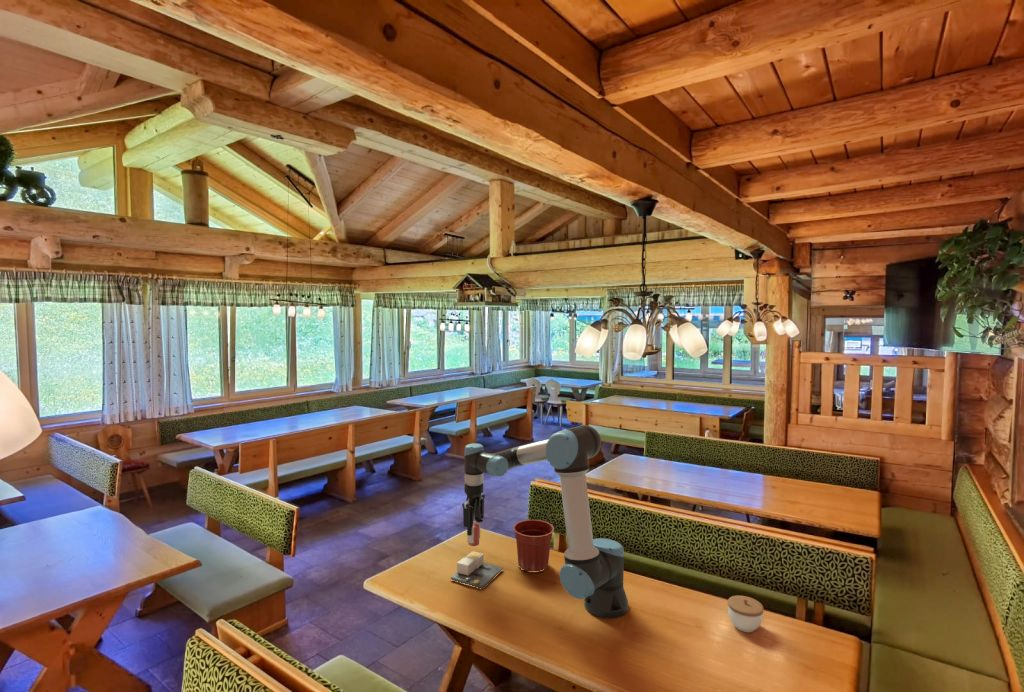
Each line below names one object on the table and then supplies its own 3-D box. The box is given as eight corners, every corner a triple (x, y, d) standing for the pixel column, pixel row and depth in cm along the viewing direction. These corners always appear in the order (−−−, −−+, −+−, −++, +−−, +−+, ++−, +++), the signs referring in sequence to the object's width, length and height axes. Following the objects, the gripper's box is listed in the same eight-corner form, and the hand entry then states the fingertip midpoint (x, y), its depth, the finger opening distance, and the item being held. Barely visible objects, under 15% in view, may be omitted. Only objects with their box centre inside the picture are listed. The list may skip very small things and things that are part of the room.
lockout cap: (481, 542, 209) (481, 525, 208) (475, 547, 205) (475, 529, 204) (471, 540, 211) (471, 523, 210) (466, 544, 207) (466, 527, 206)
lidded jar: (742, 639, 164) (743, 610, 163) (720, 620, 174) (720, 593, 174) (770, 633, 167) (771, 605, 166) (747, 615, 177) (747, 588, 177)
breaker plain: (474, 569, 204) (474, 560, 204) (467, 575, 200) (467, 565, 199) (464, 566, 206) (464, 557, 206) (457, 572, 202) (457, 562, 202)
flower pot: (560, 563, 214) (561, 525, 213) (541, 580, 200) (541, 539, 199) (526, 553, 222) (526, 516, 221) (505, 569, 208) (505, 530, 207)
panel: (502, 571, 207) (502, 565, 207) (482, 589, 193) (482, 584, 193) (473, 563, 213) (473, 557, 213) (450, 580, 199) (450, 575, 199)
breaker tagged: (483, 563, 209) (483, 553, 209) (476, 569, 205) (476, 558, 205) (472, 560, 212) (472, 550, 211) (466, 566, 207) (466, 555, 207)
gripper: (477, 475, 215) (477, 530, 217) (453, 487, 200) (453, 546, 202) (492, 478, 212) (492, 533, 214) (470, 491, 197) (470, 550, 199)
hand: (473, 539), depth 208 cm, fingers closed on lockout cap, 4 cm apart
